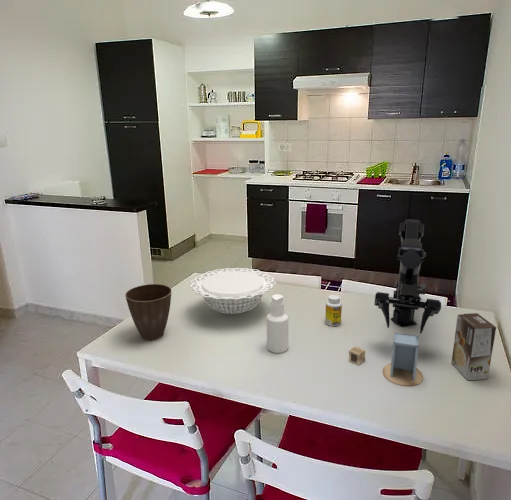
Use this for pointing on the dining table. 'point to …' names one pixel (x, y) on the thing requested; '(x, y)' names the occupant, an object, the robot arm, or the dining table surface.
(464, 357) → the coffee box
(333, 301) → the supplement bottle
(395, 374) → the coaster
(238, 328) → the dining table surface
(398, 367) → the blue-grey open box
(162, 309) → the plant pot
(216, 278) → the white woven basket
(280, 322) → the spray bottle
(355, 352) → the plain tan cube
